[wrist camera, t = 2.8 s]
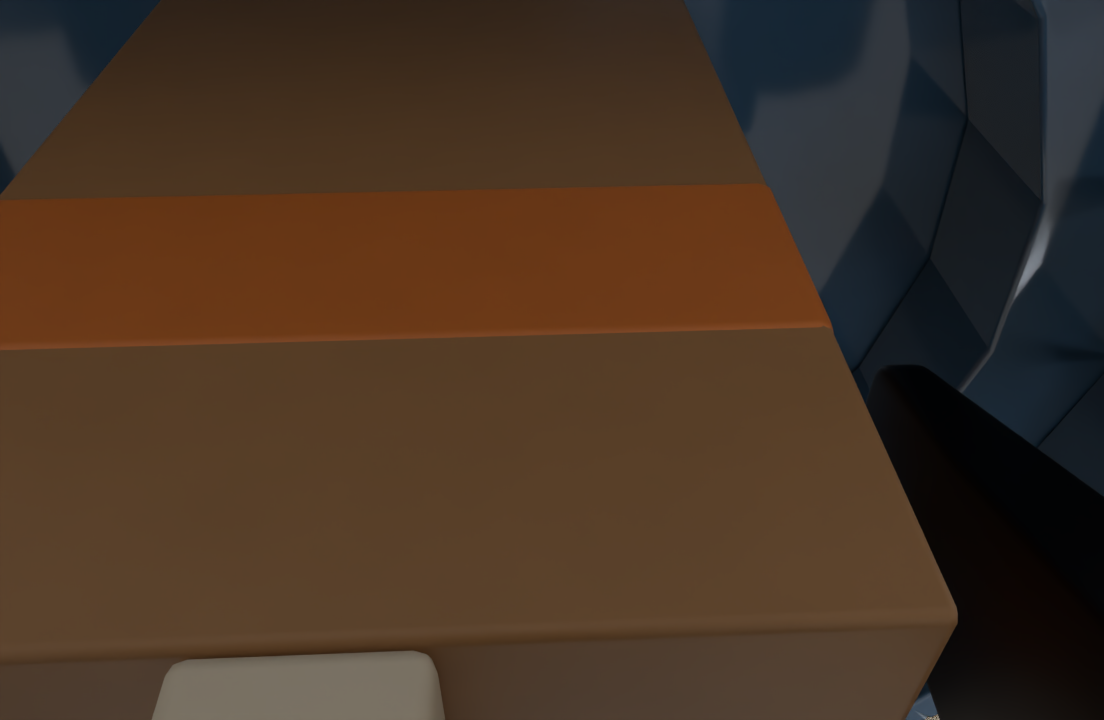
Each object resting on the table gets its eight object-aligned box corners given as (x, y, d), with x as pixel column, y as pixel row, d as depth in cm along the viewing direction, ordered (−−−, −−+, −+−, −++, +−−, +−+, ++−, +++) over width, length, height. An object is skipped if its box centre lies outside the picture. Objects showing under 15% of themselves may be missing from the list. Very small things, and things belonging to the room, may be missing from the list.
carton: (302, 411, 13) (93, 1280, 7) (186, -40, 9) (-785, 1104, 2) (631, 400, 14) (767, 1238, 7) (668, -46, 9) (1150, 994, 2)
